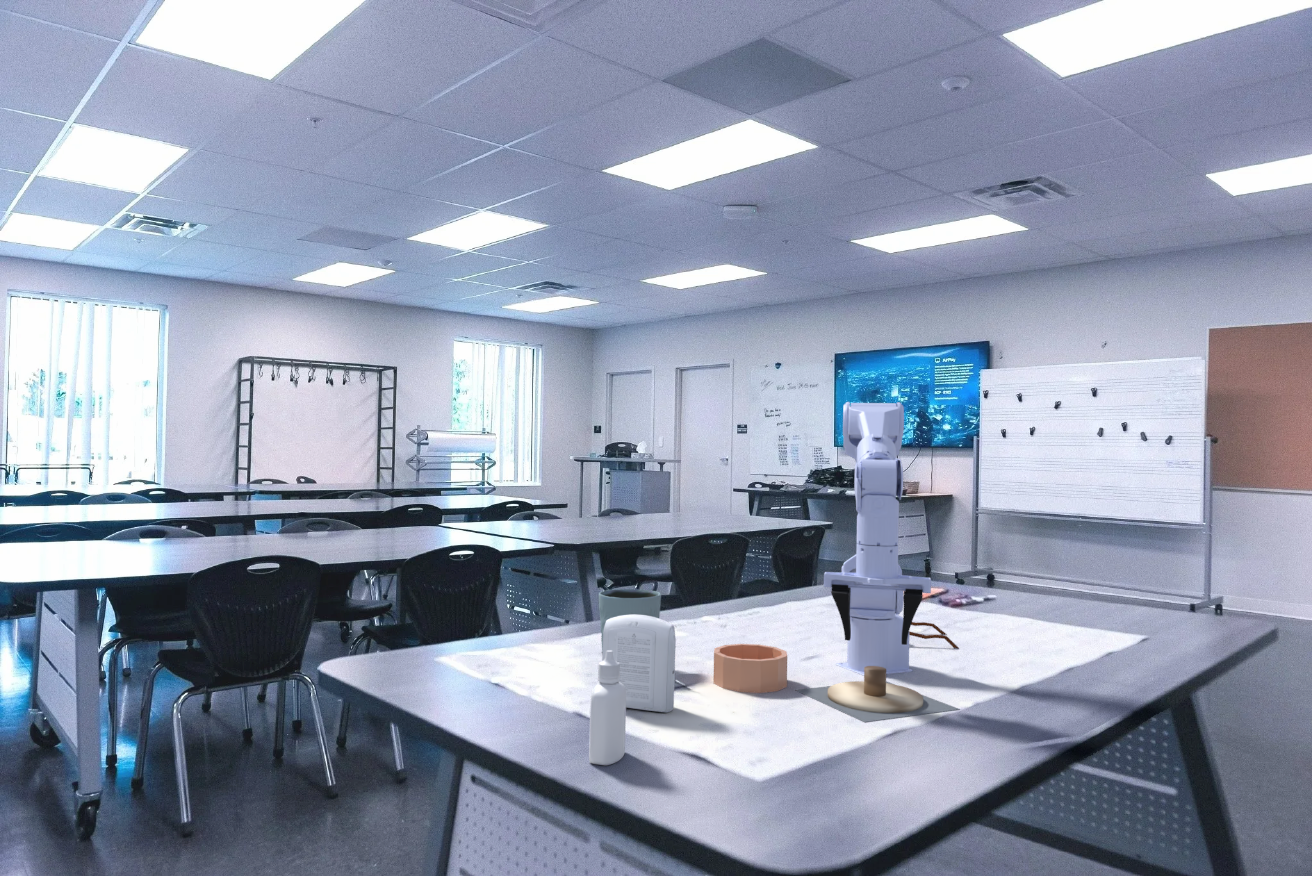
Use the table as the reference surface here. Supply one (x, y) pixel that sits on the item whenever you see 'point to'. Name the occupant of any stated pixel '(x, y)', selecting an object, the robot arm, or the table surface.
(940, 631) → the glasses
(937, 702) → the mat
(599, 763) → the eye dropper bottle
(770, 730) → the table surface
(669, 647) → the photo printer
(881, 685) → the lid
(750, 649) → the bowl
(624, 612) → the green plant pot
